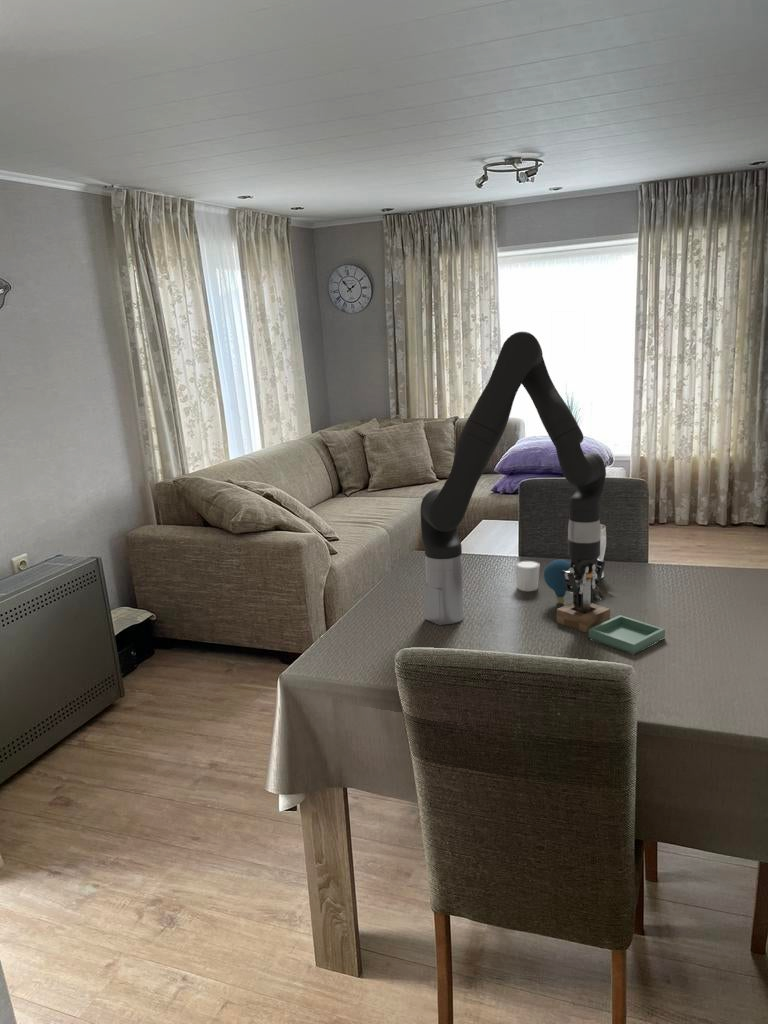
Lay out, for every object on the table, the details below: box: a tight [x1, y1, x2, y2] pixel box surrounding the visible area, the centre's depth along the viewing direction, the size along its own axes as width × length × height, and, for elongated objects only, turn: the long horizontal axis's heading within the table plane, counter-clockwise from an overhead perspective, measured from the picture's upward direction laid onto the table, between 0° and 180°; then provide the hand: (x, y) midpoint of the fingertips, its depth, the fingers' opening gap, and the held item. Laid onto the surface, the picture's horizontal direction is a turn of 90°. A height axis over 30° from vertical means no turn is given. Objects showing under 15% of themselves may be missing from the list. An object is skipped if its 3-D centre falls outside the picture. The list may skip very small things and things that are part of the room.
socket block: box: [556, 602, 611, 633], centre depth 178 cm, size 9×9×4 cm
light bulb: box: [543, 558, 572, 604], centre depth 190 cm, size 8×8×12 cm
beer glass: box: [596, 523, 607, 579], centre depth 208 cm, size 7×7×15 cm
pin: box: [576, 572, 593, 614], centre depth 177 cm, size 4×4×13 cm
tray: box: [588, 614, 666, 655], centre depth 167 cm, size 12×12×2 cm
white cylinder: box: [514, 560, 541, 592], centre depth 203 cm, size 7×7×7 cm
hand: (583, 604), depth 177 cm, fingers closed on pin, 3 cm apart
